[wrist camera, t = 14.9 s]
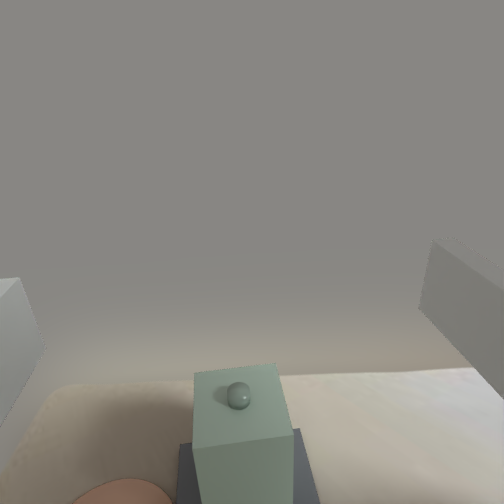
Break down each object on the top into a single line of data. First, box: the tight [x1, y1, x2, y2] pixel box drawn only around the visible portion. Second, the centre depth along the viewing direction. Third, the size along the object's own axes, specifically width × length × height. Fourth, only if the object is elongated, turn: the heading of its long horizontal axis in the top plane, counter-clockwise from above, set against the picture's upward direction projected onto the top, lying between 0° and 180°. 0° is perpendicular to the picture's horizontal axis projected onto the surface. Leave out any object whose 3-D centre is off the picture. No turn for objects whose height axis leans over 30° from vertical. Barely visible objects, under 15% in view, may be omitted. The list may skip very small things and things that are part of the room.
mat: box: [176, 428, 320, 504], centre depth 37 cm, size 14×11×1 cm
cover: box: [192, 363, 294, 504], centre depth 34 cm, size 8×8×13 cm
